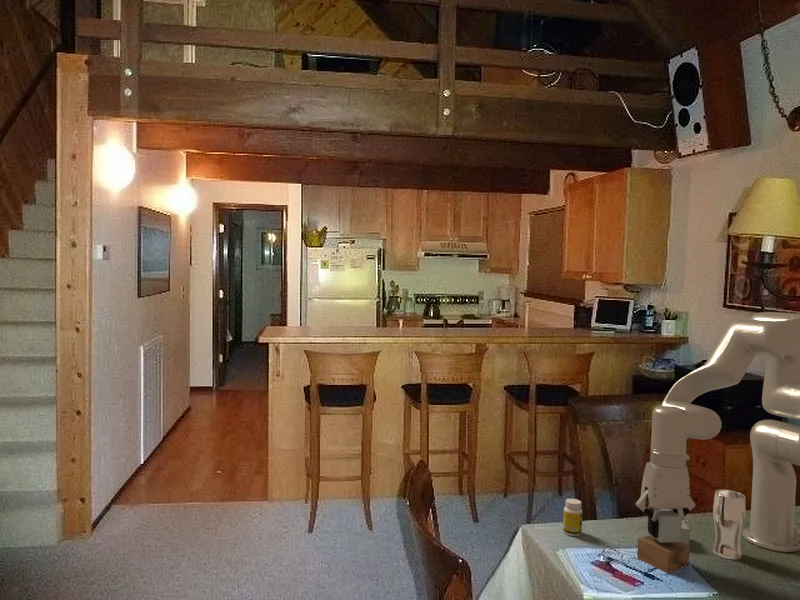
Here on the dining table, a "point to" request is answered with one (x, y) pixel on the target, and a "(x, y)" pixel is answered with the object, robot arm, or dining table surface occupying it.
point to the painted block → (668, 526)
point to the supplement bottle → (572, 518)
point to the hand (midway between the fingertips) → (664, 534)
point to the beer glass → (728, 523)
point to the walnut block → (663, 553)
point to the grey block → (685, 533)
